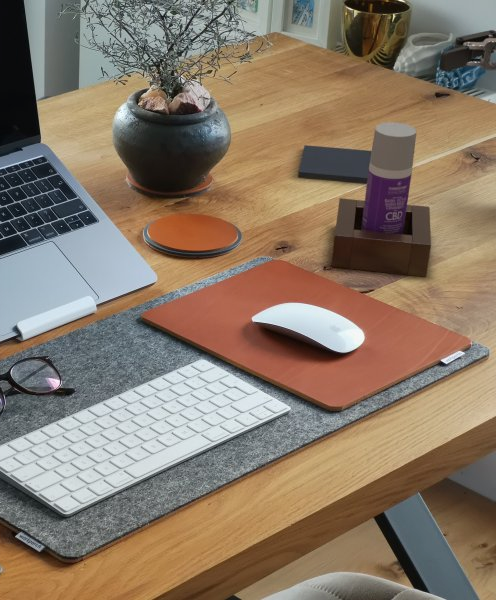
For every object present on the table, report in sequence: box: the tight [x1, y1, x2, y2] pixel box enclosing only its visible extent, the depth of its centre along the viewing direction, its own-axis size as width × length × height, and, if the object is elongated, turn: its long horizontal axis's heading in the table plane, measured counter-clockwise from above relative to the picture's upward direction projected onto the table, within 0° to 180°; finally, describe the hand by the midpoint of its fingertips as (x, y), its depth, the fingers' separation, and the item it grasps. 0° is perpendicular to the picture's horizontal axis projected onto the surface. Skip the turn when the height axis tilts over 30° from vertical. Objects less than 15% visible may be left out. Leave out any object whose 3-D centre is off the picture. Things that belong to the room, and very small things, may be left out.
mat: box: [297, 144, 372, 184], centre depth 151 cm, size 10×10×1 cm
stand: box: [330, 197, 432, 278], centre depth 128 cm, size 10×10×4 cm
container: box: [361, 121, 417, 234], centre depth 126 cm, size 5×5×15 cm
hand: (470, 73), depth 123 cm, fingers open, 8 cm apart
